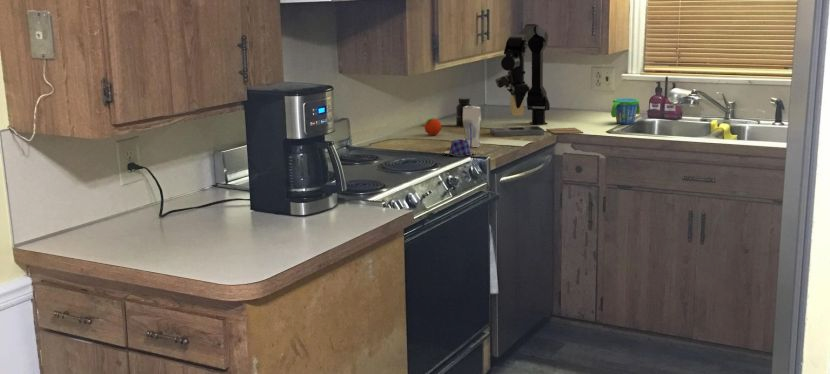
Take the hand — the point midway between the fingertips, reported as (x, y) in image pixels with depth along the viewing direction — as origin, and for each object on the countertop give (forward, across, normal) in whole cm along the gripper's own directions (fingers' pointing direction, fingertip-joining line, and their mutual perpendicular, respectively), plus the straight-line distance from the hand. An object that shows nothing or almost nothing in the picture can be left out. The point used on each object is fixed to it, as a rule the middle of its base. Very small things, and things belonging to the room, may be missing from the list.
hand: (516, 107), depth 368 cm
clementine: (+11, -5, -34) cm, 36 cm away
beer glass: (+11, +25, -23) cm, 36 cm away
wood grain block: (+3, 0, 0) cm, 3 cm away
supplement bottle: (+11, -26, -17) cm, 33 cm away
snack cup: (+11, -15, +51) cm, 54 cm away
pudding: (+11, +39, -30) cm, 50 cm away
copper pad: (+11, 0, +20) cm, 23 cm away
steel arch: (+11, 0, 0) cm, 11 cm away
